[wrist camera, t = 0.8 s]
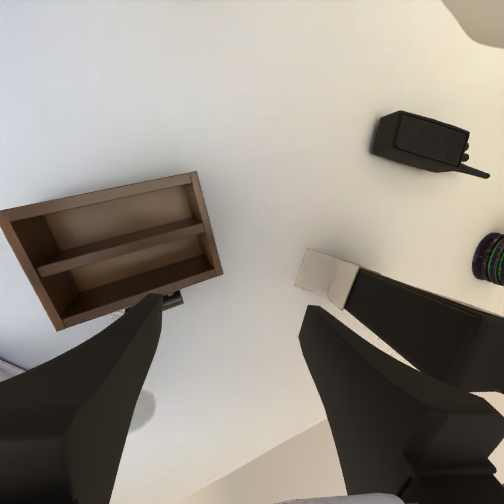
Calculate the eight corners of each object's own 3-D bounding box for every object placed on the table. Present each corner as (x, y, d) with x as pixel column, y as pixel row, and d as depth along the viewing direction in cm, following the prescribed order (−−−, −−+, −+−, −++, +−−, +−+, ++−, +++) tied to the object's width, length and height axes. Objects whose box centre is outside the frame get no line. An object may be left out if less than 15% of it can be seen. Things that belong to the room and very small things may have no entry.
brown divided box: (215, 279, 28) (230, 300, 23) (89, 323, 24) (72, 361, 19) (186, 175, 24) (196, 171, 19) (32, 206, 20) (-9, 212, 15)
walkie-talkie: (394, 93, 29) (499, 136, 35) (359, 140, 34) (457, 170, 40) (417, 122, 26) (528, 163, 32) (375, 169, 31) (479, 197, 37)
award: (373, 270, 38) (938, 470, 11) (361, 301, 38) (869, 567, 11) (295, 244, 31) (1231, 587, 4) (281, 282, 32) (1032, 804, 5)
